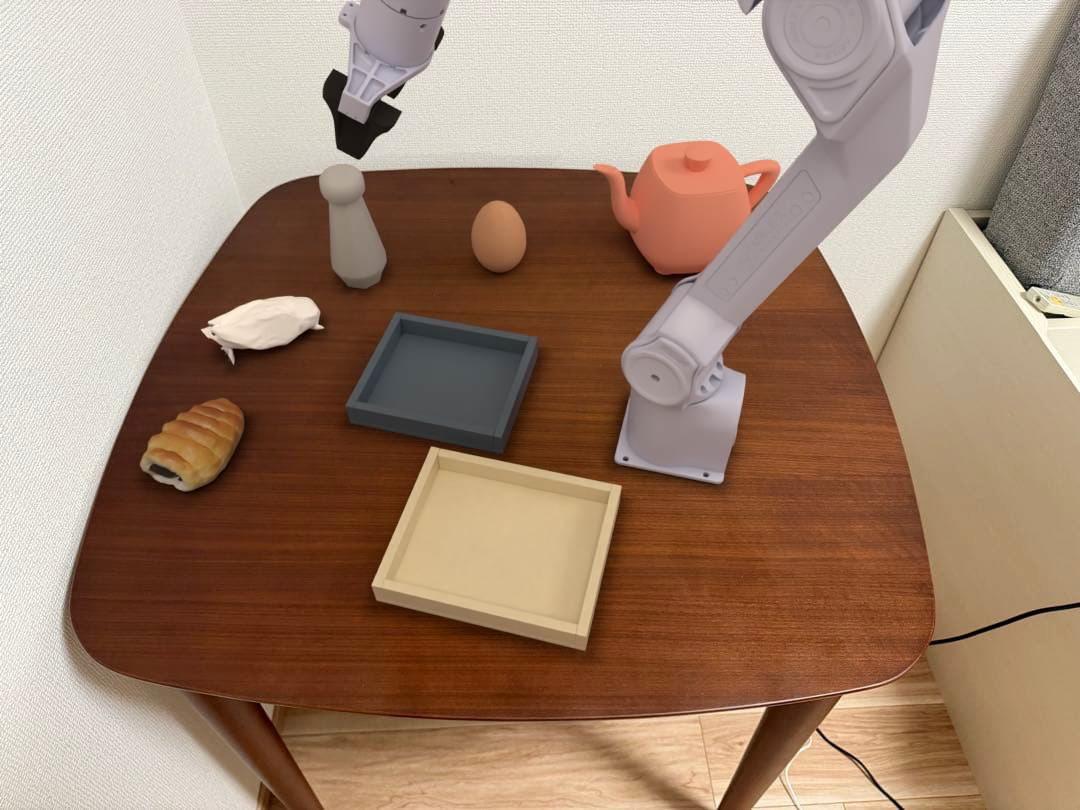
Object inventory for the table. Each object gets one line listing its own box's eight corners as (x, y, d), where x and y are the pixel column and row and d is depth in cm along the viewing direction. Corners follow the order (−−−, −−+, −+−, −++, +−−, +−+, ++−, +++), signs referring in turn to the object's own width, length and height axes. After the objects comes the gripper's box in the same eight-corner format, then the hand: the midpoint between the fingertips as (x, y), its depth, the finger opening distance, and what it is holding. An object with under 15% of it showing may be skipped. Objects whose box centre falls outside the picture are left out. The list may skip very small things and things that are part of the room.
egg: (522, 248, 91) (521, 184, 85) (530, 282, 87) (529, 218, 81) (471, 253, 91) (465, 189, 84) (476, 288, 87) (471, 224, 80)
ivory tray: (619, 502, 69) (621, 485, 67) (585, 651, 61) (586, 636, 59) (434, 463, 72) (431, 446, 70) (376, 600, 64) (371, 585, 62)
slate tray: (538, 355, 80) (538, 337, 79) (502, 454, 73) (501, 437, 71) (398, 329, 83) (395, 311, 81) (349, 423, 75) (344, 405, 73)
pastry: (206, 402, 77) (193, 374, 74) (267, 423, 75) (256, 396, 72) (139, 478, 71) (122, 451, 68) (203, 503, 70) (188, 477, 67)
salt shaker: (379, 298, 86) (357, 193, 76) (327, 291, 87) (299, 186, 77) (396, 262, 90) (377, 158, 80) (347, 256, 90) (322, 152, 80)
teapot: (576, 221, 94) (579, 125, 85) (743, 202, 96) (764, 107, 87) (601, 299, 86) (608, 202, 76) (784, 276, 88) (812, 179, 78)
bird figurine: (250, 387, 80) (333, 325, 82) (208, 340, 75) (297, 275, 77) (234, 364, 83) (313, 305, 85) (192, 318, 78) (278, 256, 80)
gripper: (393, -100, 59) (356, 42, 70) (310, 18, 52) (283, 155, 63) (481, -47, 60) (430, 84, 72) (413, 75, 53) (368, 199, 64)
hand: (367, 120), depth 67 cm, fingers open, 7 cm apart
